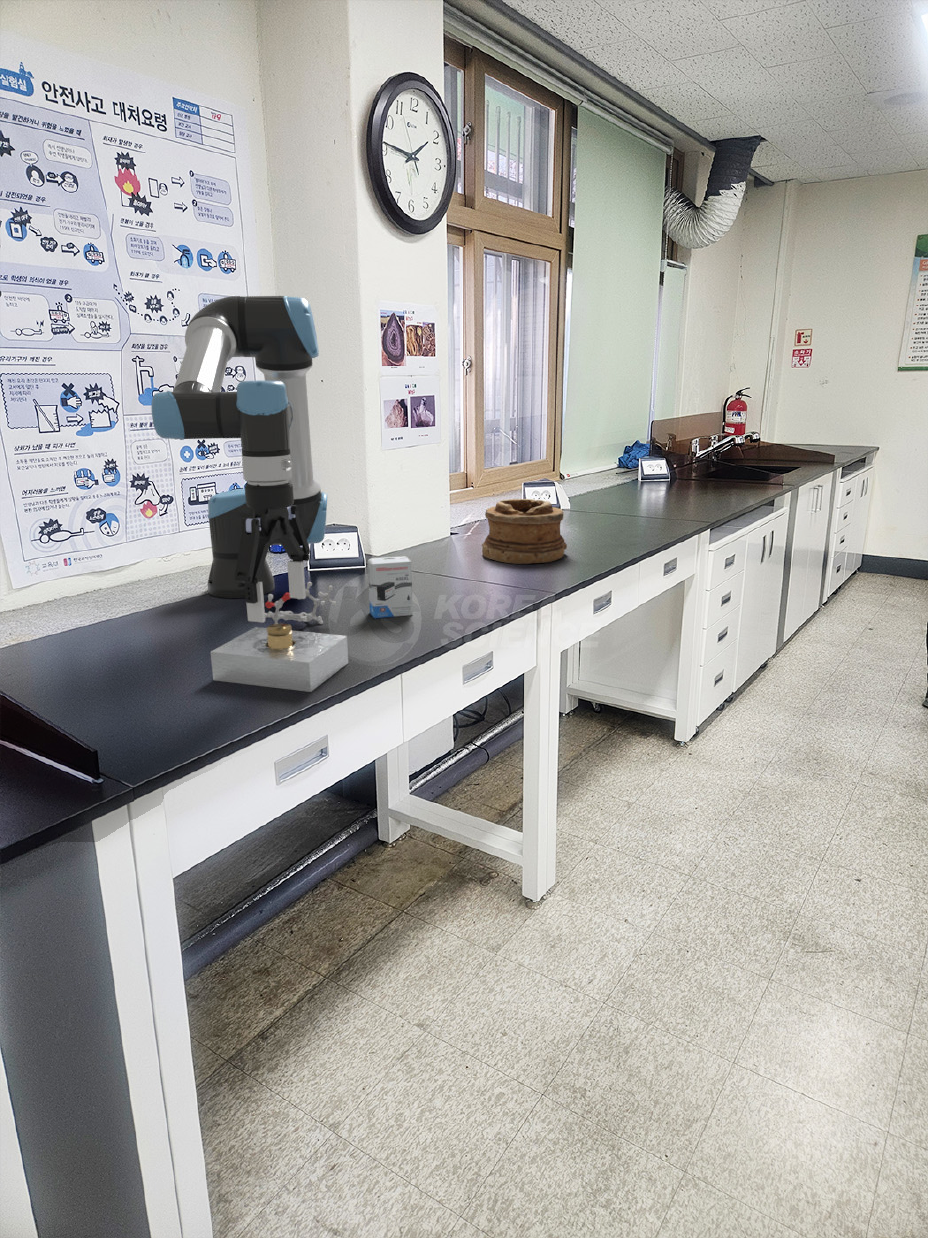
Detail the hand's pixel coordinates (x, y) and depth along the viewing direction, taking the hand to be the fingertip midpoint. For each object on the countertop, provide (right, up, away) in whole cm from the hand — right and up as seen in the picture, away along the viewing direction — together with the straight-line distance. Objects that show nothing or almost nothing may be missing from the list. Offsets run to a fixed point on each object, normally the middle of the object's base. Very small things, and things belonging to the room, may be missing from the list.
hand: (278, 609), depth 134 cm
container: (+48, +16, +89) cm, 102 cm away
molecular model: (-2, -4, +25) cm, 25 cm away
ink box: (+16, -1, +35) cm, 39 cm away
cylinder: (0, -11, +3) cm, 11 cm away
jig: (0, -11, +3) cm, 11 cm away
